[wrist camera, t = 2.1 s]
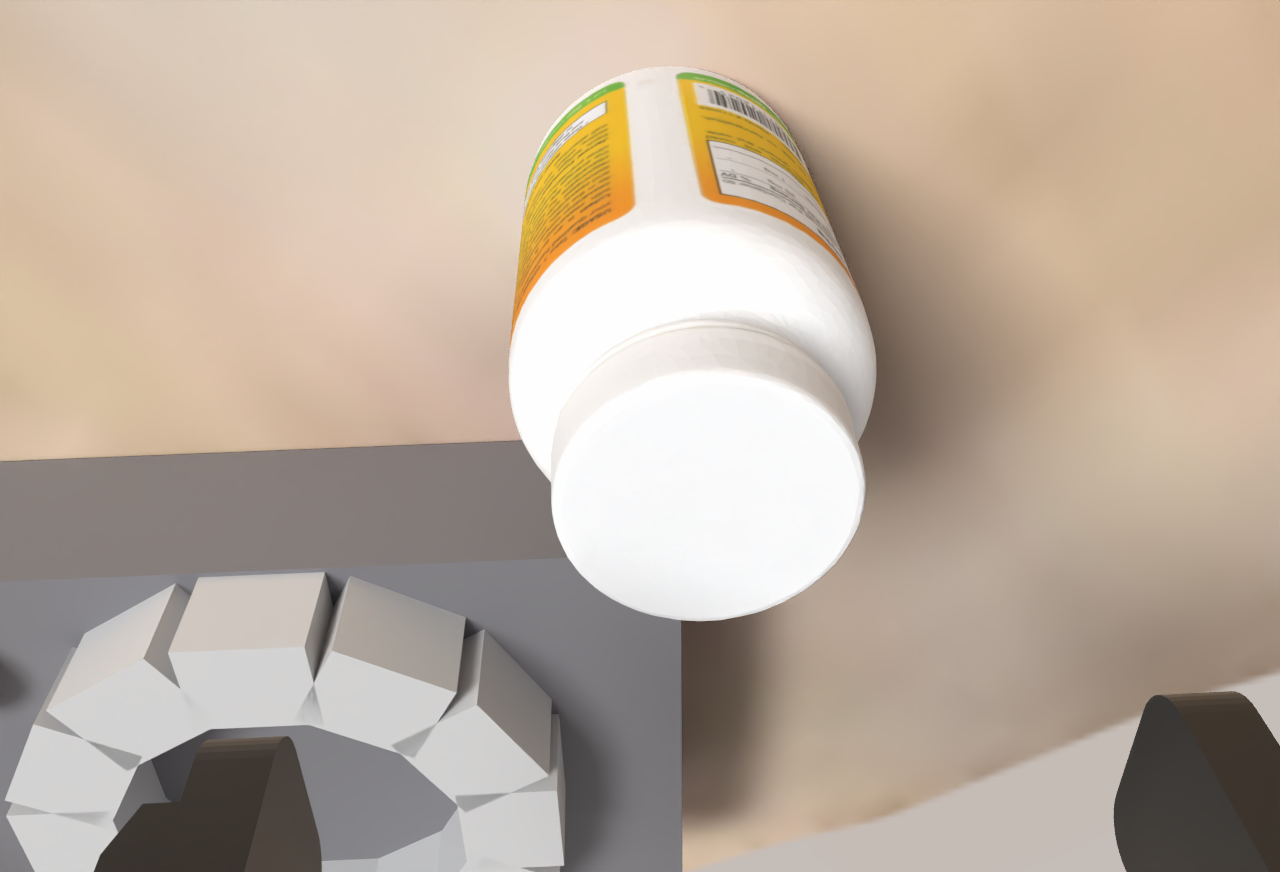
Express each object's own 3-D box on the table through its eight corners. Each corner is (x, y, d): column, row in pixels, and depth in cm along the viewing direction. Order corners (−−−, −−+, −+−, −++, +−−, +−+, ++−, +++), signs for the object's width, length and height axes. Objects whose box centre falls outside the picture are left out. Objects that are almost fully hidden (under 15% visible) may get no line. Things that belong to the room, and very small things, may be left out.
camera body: (668, 435, 26) (688, 625, 21) (672, 767, 32) (688, 975, 27) (-68, 464, 26) (-225, 665, 21) (80, 794, 32) (-13, 1009, 27)
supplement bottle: (550, 336, 24) (532, 685, 16) (502, 80, 21) (451, 353, 13) (811, 304, 24) (922, 640, 16) (799, 40, 21) (929, 292, 13)
